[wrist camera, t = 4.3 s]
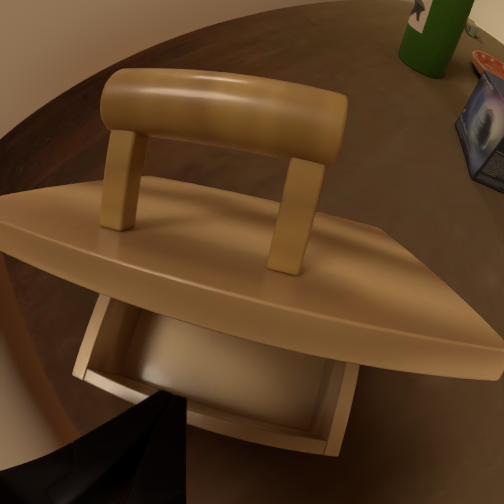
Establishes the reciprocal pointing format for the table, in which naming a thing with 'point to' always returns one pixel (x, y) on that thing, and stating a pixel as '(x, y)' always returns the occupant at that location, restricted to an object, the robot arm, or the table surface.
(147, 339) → the chest
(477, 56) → the saucer
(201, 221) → the chest lid
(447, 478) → the table surface
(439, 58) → the wine bottle
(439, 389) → the table surface
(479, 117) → the small box
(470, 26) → the medication box
